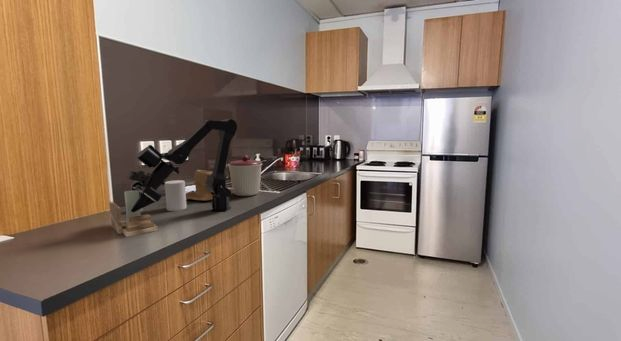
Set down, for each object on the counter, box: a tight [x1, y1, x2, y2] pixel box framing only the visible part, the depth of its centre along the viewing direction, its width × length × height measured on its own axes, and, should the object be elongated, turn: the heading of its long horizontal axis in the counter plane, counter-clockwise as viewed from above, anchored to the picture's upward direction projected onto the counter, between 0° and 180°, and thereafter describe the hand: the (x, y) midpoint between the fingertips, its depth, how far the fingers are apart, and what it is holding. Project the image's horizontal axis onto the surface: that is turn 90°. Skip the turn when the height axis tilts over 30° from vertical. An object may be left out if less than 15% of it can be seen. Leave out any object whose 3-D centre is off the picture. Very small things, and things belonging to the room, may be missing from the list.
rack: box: [108, 201, 159, 238], centre depth 112 cm, size 11×17×9 cm, turn 42°
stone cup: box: [186, 169, 214, 202], centre depth 157 cm, size 15×12×15 cm
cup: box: [164, 179, 187, 212], centre depth 140 cm, size 8×8×12 cm
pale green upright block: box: [123, 190, 142, 221], centre depth 114 cm, size 4×3×13 cm
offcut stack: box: [124, 213, 155, 232], centre depth 109 cm, size 8×4×4 cm, turn 132°
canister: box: [227, 154, 263, 197], centre depth 168 cm, size 18×18×21 cm
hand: (128, 209), depth 114 cm, fingers open, 9 cm apart
